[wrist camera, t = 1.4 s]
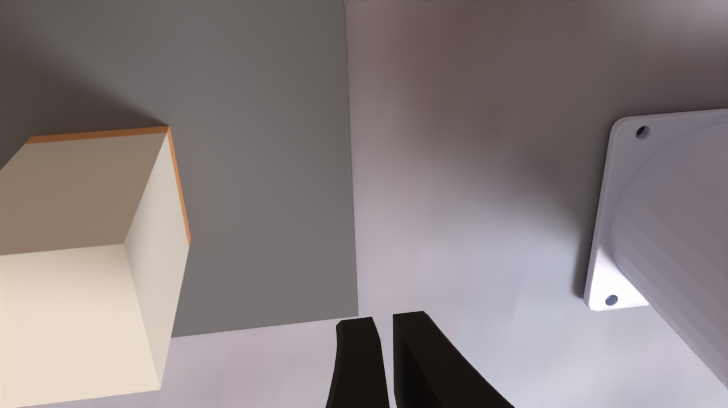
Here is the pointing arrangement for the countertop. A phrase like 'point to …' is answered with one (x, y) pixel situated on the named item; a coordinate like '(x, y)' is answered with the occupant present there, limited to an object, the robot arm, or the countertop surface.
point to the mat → (210, 135)
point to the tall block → (89, 264)
